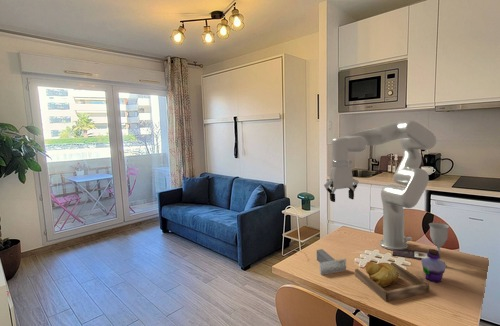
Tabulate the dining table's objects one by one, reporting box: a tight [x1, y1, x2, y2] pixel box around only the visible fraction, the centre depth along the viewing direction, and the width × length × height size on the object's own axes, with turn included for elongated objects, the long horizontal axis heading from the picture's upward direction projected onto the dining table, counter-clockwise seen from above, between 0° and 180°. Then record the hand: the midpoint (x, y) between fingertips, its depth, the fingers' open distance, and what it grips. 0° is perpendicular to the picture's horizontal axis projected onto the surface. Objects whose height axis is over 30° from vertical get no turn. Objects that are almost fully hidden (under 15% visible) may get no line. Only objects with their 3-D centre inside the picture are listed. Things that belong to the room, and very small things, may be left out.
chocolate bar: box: [392, 248, 429, 261], centre depth 130 cm, size 9×1×18 cm
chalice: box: [428, 222, 450, 261], centre depth 118 cm, size 7×7×18 cm
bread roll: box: [365, 261, 399, 288], centre depth 109 cm, size 13×10×8 cm
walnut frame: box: [354, 262, 430, 303], centre depth 107 cm, size 18×18×3 cm
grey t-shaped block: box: [316, 248, 347, 276], centre depth 124 cm, size 12×13×5 cm
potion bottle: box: [420, 248, 447, 284], centre depth 108 cm, size 9×9×12 cm
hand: (342, 200), depth 129 cm, fingers open, 9 cm apart
